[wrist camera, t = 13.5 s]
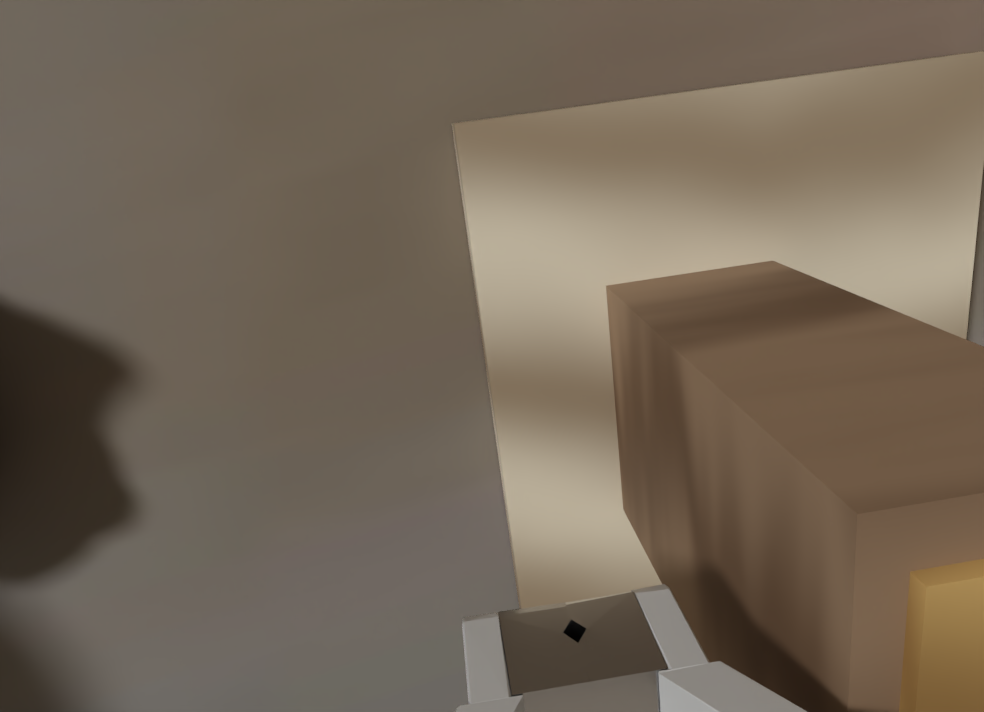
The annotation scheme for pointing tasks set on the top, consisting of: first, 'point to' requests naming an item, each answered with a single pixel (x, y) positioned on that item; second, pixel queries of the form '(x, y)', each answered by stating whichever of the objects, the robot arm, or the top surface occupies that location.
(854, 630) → the walnut block
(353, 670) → the top surface
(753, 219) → the birch board
